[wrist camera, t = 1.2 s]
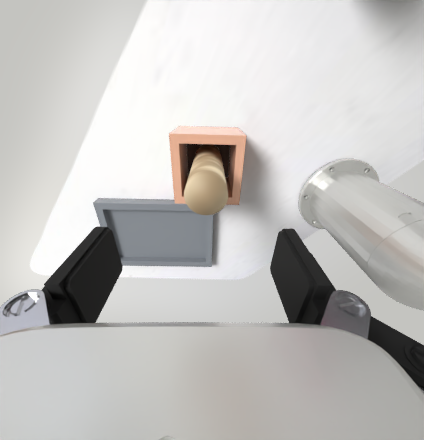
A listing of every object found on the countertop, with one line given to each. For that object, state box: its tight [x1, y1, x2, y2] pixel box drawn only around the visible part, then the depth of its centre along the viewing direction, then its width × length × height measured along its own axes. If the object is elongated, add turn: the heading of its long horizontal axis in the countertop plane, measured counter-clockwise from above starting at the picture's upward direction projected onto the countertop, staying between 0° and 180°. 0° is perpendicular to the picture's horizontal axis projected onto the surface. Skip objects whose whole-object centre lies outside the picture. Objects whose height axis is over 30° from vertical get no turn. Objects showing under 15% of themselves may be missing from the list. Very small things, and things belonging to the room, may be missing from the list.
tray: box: [93, 198, 213, 267], centre depth 37 cm, size 20×14×2 cm
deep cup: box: [169, 126, 246, 205], centre depth 27 cm, size 8×8×8 cm
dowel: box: [184, 144, 228, 215], centre depth 24 cm, size 4×4×15 cm
